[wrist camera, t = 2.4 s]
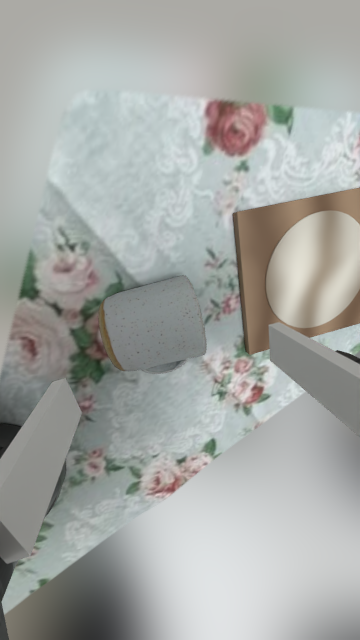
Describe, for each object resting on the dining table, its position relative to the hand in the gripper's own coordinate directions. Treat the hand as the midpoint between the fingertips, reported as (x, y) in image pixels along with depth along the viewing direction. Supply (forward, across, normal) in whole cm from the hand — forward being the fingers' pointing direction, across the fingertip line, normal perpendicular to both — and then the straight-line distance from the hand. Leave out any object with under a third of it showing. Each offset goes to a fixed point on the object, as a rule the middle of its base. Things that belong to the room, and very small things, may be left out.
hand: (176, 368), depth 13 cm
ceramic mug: (+11, +1, +1) cm, 11 cm away
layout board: (+11, -18, -1) cm, 21 cm away
